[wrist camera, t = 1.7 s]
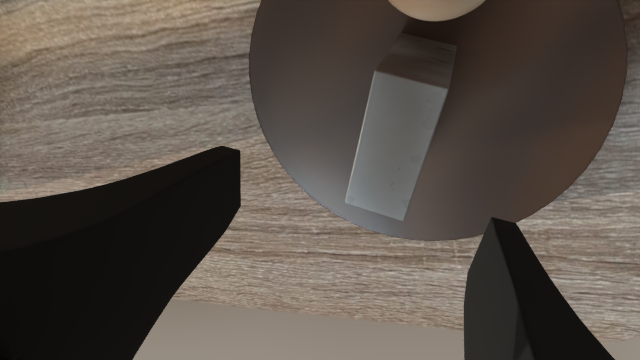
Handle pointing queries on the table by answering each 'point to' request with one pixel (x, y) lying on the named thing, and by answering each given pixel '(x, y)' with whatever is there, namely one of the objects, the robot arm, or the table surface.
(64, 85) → the table surface
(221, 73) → the table surface
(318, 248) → the table surface
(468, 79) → the disc
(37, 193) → the table surface
